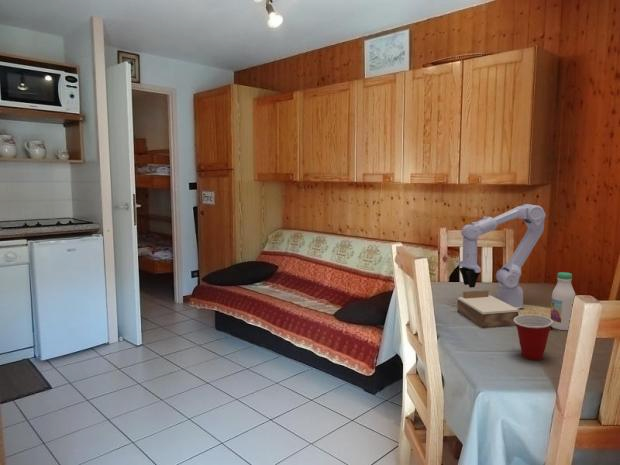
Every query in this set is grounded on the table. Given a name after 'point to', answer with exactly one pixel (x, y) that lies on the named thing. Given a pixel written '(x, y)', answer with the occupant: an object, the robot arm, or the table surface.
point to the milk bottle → (562, 301)
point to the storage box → (487, 317)
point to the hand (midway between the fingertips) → (469, 285)
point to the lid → (485, 302)
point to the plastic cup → (533, 335)
